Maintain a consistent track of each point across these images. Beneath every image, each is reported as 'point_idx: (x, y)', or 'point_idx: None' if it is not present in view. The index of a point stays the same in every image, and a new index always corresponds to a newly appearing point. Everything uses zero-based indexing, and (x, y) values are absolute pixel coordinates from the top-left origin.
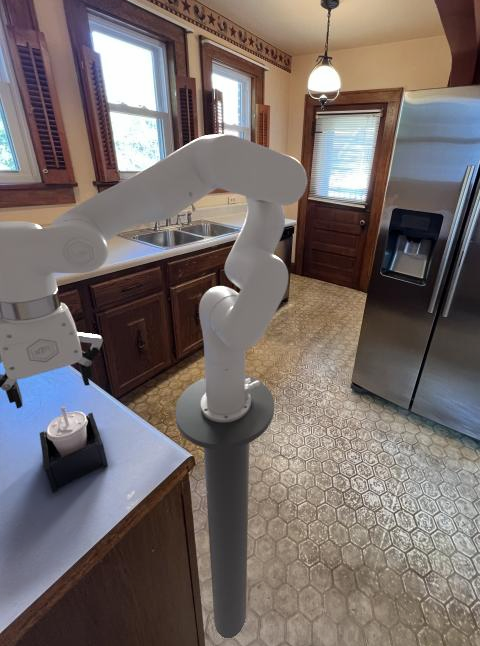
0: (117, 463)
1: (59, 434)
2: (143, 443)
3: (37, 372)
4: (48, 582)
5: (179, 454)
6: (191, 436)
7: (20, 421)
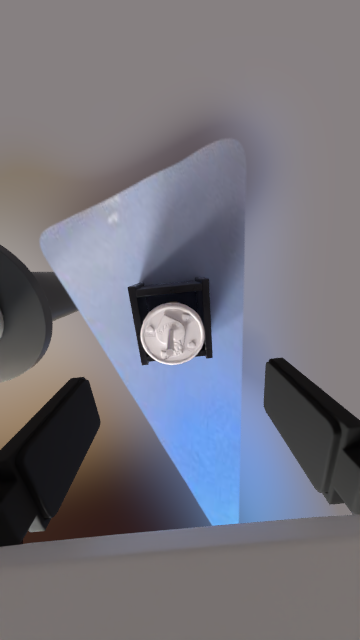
0: (127, 281)
1: (184, 314)
2: (91, 297)
3: (294, 581)
4: (208, 151)
5: (41, 248)
6: (24, 277)
7: (228, 404)
